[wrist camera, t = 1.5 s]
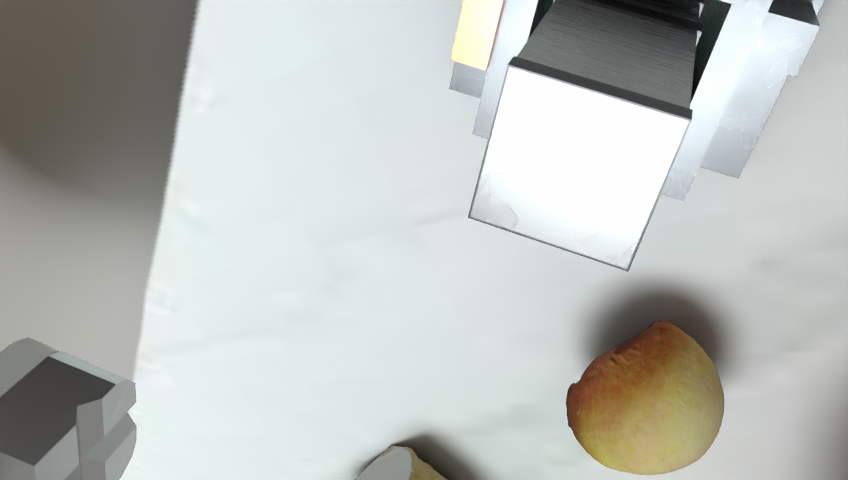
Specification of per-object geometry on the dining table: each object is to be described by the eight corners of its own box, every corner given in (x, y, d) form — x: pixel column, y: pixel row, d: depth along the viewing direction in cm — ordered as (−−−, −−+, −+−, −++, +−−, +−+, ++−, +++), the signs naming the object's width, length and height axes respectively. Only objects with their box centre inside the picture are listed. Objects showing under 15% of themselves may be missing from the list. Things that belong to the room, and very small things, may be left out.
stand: (530, -246, 31) (438, -246, 21) (892, -161, 29) (979, -116, 19) (457, 78, 39) (366, 189, 29) (737, 164, 37) (743, 317, 27)
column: (605, -79, 32) (505, 61, 17) (708, -52, 31) (694, 118, 17) (575, 21, 34) (465, 218, 20) (670, 48, 34) (629, 273, 19)
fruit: (571, 388, 47) (547, 489, 41) (593, 274, 43) (570, 367, 36) (703, 420, 45) (699, 532, 39) (740, 305, 41) (744, 409, 34)
